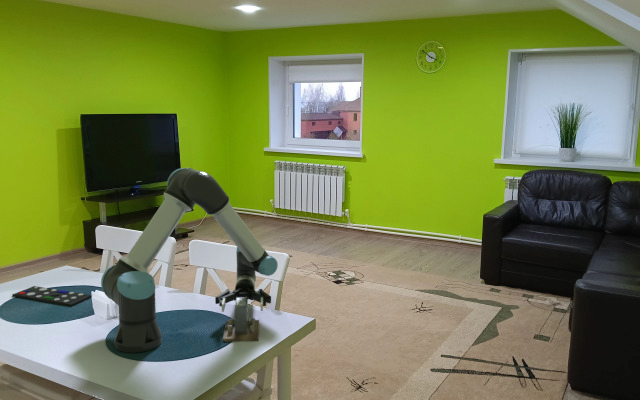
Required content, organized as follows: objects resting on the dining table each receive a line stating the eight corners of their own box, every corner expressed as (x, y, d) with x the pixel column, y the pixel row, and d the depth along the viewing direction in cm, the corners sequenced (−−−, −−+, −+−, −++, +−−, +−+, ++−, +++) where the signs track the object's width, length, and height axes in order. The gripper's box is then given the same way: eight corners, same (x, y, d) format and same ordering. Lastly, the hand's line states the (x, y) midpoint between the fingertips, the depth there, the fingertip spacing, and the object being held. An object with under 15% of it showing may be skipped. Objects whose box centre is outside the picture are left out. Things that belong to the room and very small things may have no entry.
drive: (235, 334, 192) (234, 306, 190) (236, 323, 202) (236, 296, 200) (246, 334, 192) (246, 306, 190) (247, 323, 202) (247, 296, 200)
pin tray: (222, 341, 189) (222, 331, 188) (226, 323, 204) (226, 314, 204) (258, 340, 190) (258, 331, 189) (258, 322, 206) (258, 313, 205)
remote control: (34, 289, 237) (34, 284, 237) (91, 298, 228) (91, 294, 227) (12, 297, 227) (12, 293, 227) (71, 308, 217) (71, 303, 217)
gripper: (276, 296, 218) (277, 317, 197) (212, 297, 215) (206, 318, 195) (277, 278, 216) (277, 297, 196) (212, 278, 214) (206, 298, 193)
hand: (242, 307), depth 195 cm, fingers open, 13 cm apart
